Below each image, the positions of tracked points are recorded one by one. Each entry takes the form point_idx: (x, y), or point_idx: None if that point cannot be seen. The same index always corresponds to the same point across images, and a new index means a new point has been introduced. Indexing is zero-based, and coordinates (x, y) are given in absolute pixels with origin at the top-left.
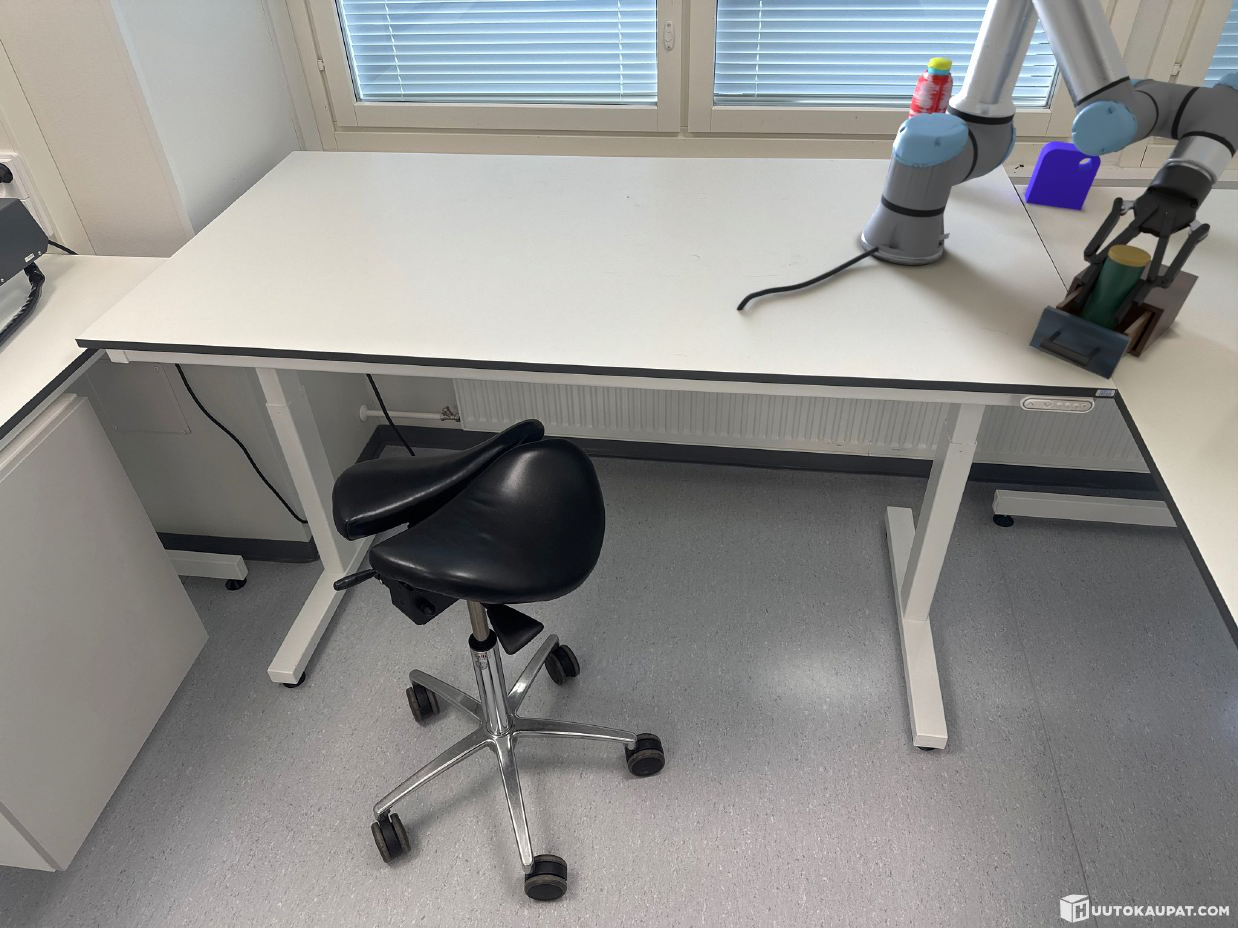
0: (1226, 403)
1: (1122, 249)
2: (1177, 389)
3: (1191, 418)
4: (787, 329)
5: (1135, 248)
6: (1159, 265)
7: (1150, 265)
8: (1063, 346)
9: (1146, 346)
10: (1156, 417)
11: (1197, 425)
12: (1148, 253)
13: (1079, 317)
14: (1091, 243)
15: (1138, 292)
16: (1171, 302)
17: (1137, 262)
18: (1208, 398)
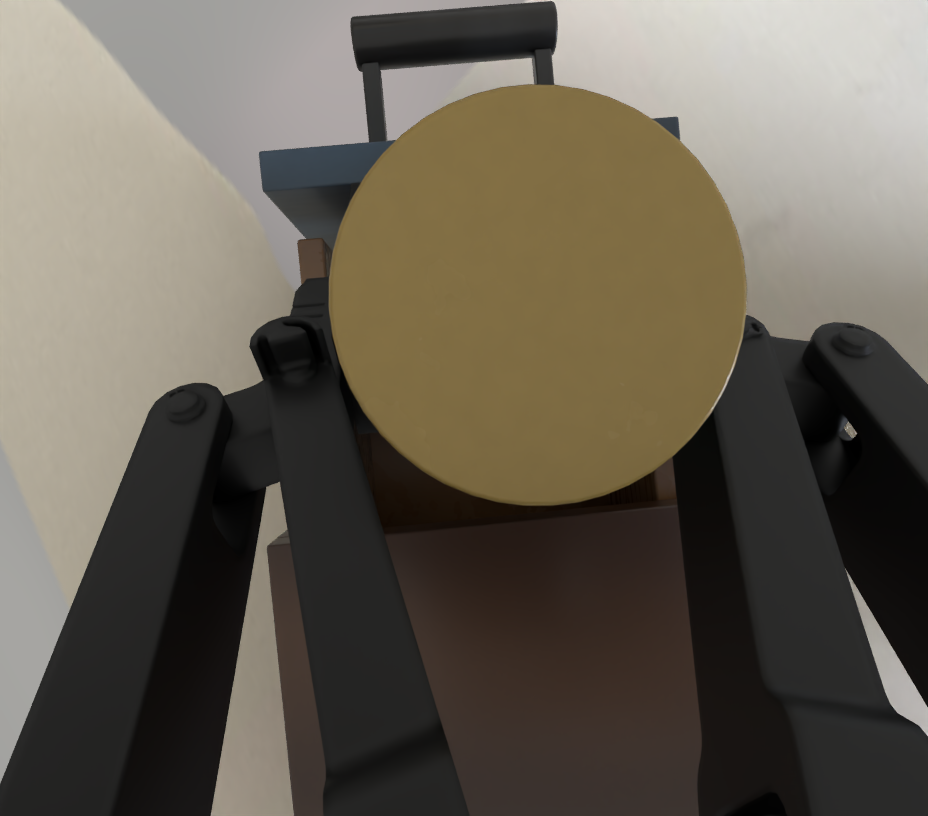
0: (16, 464)
1: (640, 311)
2: None
3: (51, 278)
4: None
5: (561, 456)
6: (283, 462)
7: (353, 436)
8: (471, 28)
9: None
10: (125, 188)
11: (21, 254)
12: (413, 455)
13: (588, 504)
14: (915, 396)
15: None
16: (279, 657)
17: (390, 150)
18: (67, 444)
